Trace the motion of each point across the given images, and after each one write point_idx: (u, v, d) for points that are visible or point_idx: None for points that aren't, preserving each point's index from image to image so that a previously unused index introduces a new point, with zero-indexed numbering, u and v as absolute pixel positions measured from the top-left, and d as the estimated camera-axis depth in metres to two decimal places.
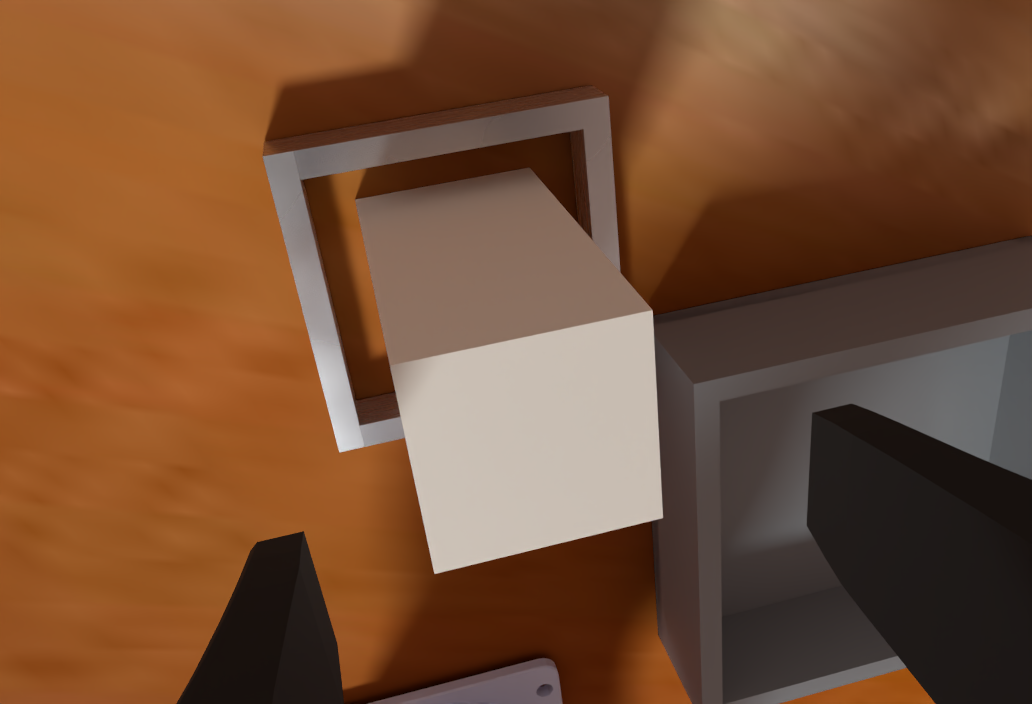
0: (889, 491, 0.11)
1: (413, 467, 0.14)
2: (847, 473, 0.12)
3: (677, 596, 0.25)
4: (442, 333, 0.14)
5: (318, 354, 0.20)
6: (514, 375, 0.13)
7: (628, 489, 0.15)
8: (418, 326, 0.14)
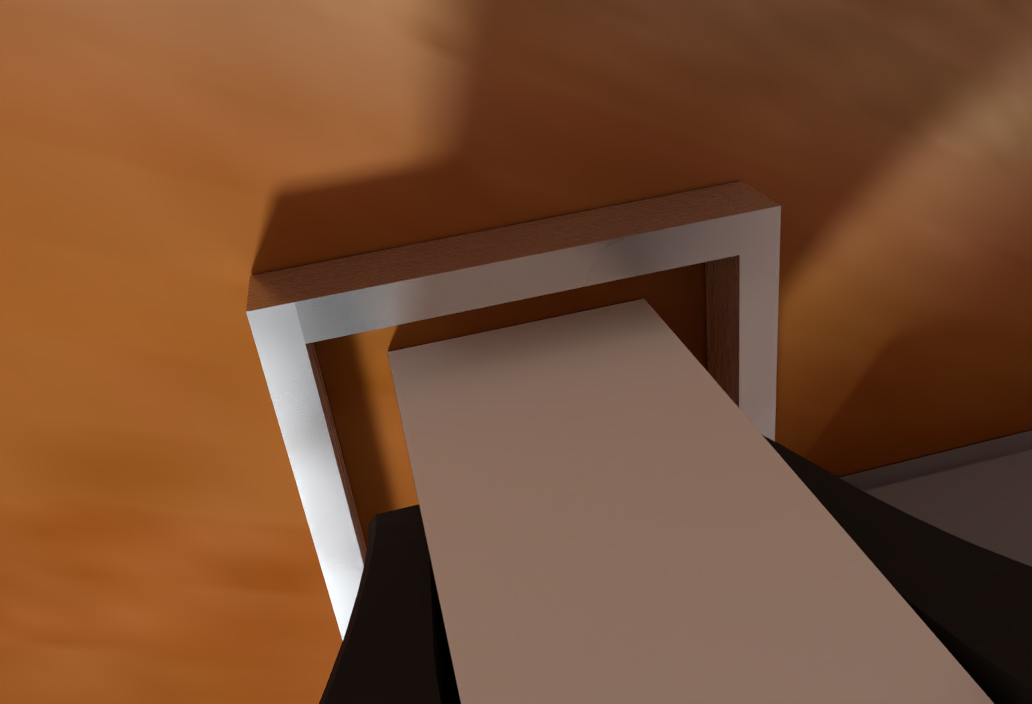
0: None
1: None
2: None
3: None
4: None
5: (332, 581, 0.13)
6: None
7: None
8: None
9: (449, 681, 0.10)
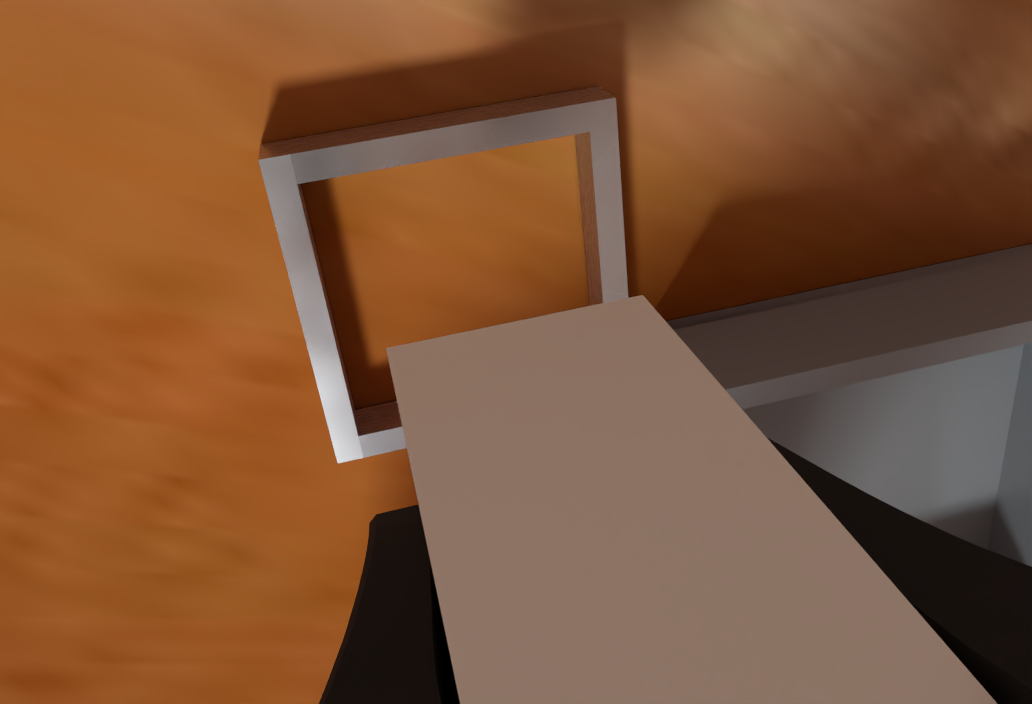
0: None
1: None
2: None
3: None
4: None
5: (316, 363, 0.19)
6: None
7: None
8: None
9: (449, 681, 0.10)
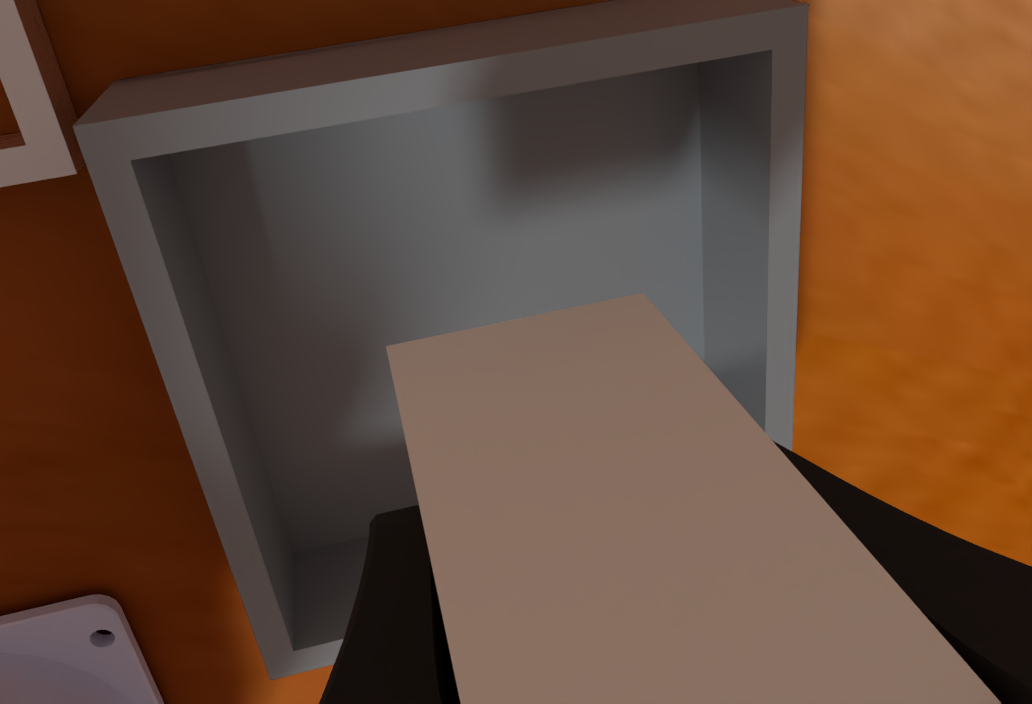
0: None
1: None
2: None
3: None
4: None
5: None
6: None
7: None
8: None
9: (449, 681, 0.10)
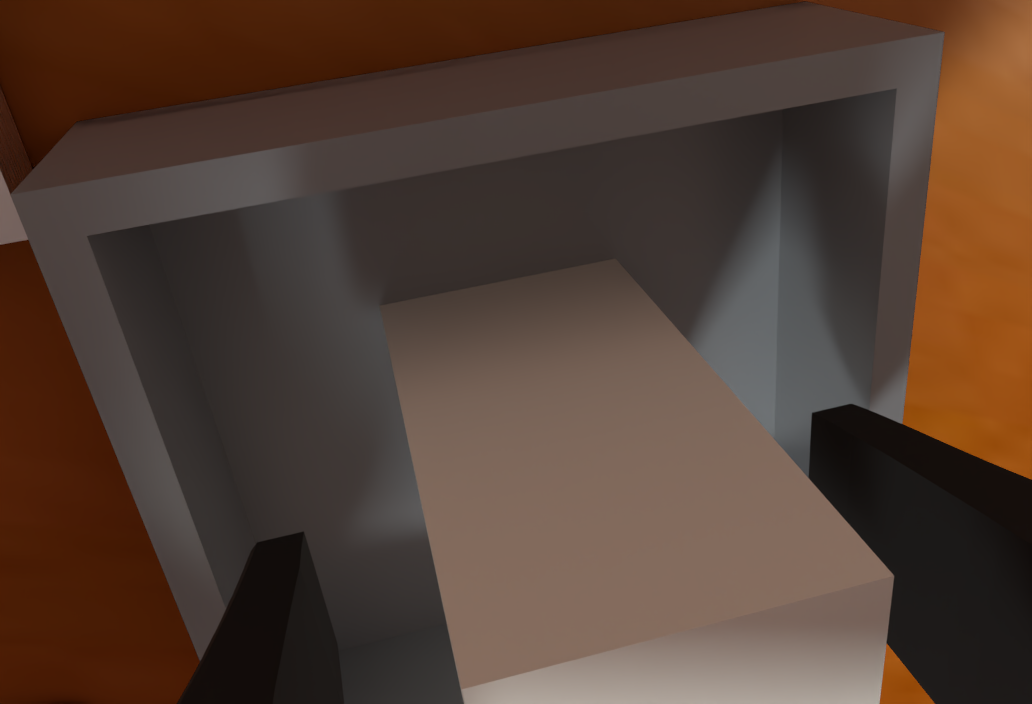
0: (889, 491, 0.11)
1: None
2: (847, 473, 0.12)
3: None
4: (544, 610, 0.08)
5: None
6: (663, 684, 0.08)
7: None
8: (500, 586, 0.09)
9: None
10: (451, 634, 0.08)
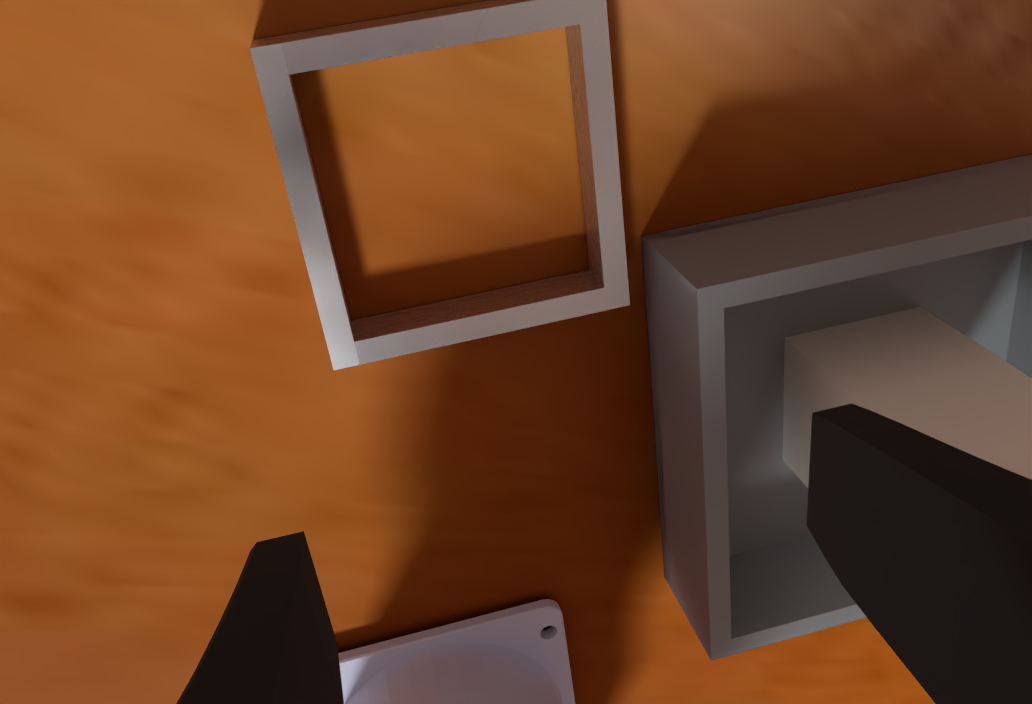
0: (889, 491, 0.11)
1: None
2: (847, 473, 0.12)
3: (683, 528, 0.24)
4: None
5: (310, 264, 0.19)
6: None
7: None
8: None
9: None
10: None
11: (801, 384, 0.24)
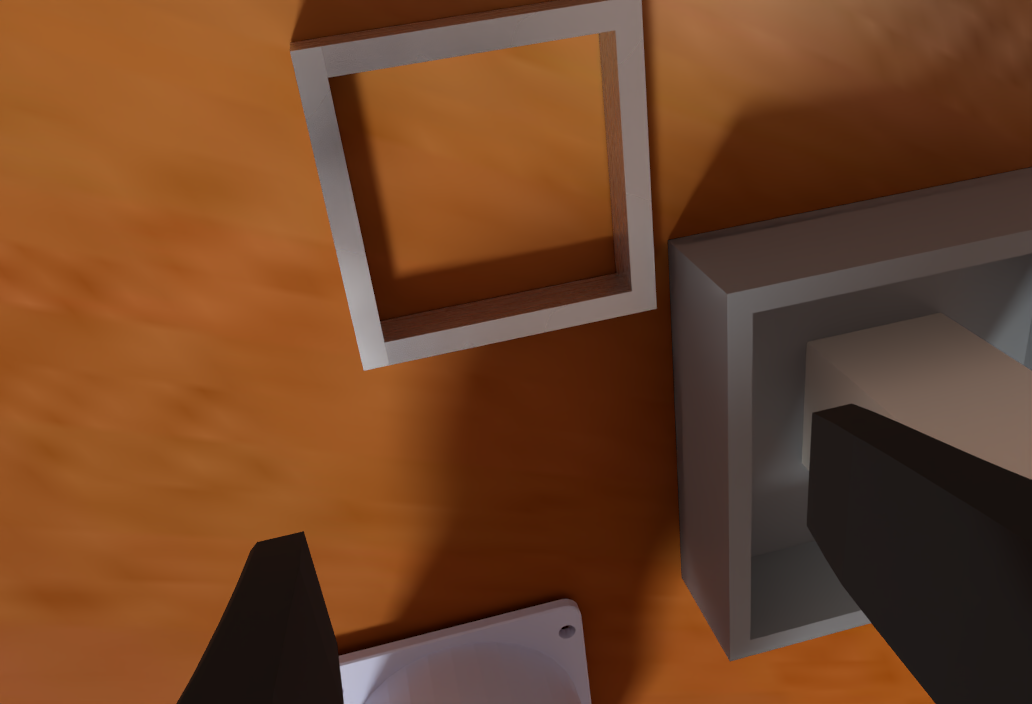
0: (889, 491, 0.11)
1: None
2: (847, 473, 0.12)
3: (704, 529, 0.24)
4: None
5: (343, 265, 0.20)
6: None
7: None
8: None
9: None
10: None
11: (823, 388, 0.24)
